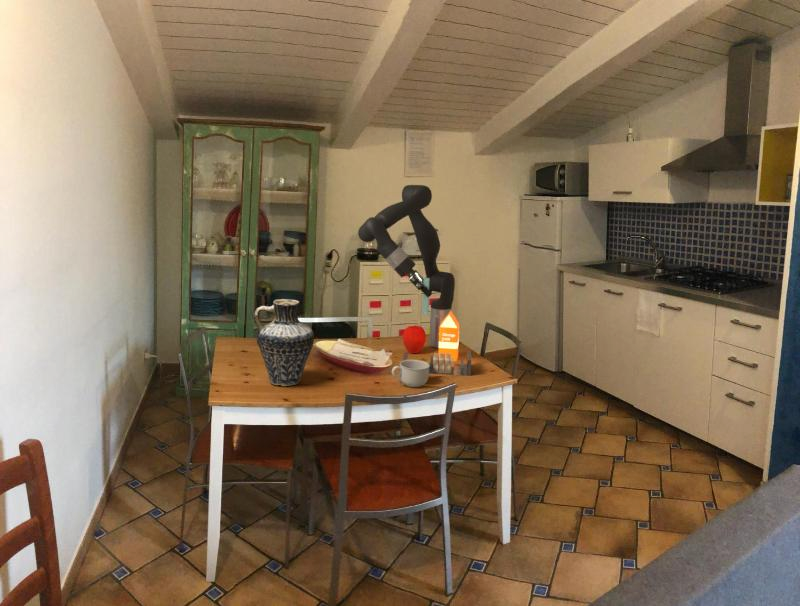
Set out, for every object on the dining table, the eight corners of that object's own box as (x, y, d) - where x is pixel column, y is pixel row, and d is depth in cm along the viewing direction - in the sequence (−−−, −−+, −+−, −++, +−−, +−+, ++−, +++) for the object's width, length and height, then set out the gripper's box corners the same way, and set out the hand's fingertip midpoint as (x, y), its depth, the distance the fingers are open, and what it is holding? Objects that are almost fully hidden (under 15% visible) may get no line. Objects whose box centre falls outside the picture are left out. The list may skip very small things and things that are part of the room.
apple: (417, 357, 278) (418, 328, 276) (397, 353, 284) (398, 325, 281) (429, 352, 286) (430, 324, 284) (410, 348, 292) (411, 321, 290)
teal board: (422, 314, 252) (423, 280, 250) (423, 311, 258) (424, 277, 256) (427, 314, 252) (428, 280, 250) (428, 311, 258) (429, 278, 255)
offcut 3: (444, 372, 253) (445, 360, 253) (445, 365, 263) (446, 353, 262) (450, 373, 253) (450, 360, 252) (450, 365, 263) (451, 353, 262)
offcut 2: (438, 372, 254) (439, 359, 253) (439, 365, 263) (440, 353, 262) (444, 372, 253) (444, 360, 252) (444, 365, 263) (445, 353, 262)
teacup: (424, 380, 247) (425, 359, 246) (432, 389, 237) (433, 367, 236) (387, 381, 244) (388, 360, 243) (393, 390, 234) (394, 368, 233)
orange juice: (458, 357, 279) (460, 310, 276) (456, 363, 271) (459, 315, 267) (439, 356, 280) (441, 309, 277) (437, 362, 272) (439, 313, 268)
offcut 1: (432, 372, 254) (433, 359, 253) (433, 365, 264) (434, 352, 263) (438, 372, 254) (438, 359, 253) (438, 365, 263) (439, 353, 263)
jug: (303, 372, 252) (303, 294, 246) (321, 387, 235) (322, 303, 229) (248, 379, 242) (247, 297, 237) (263, 395, 226) (262, 307, 220)
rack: (401, 374, 253) (401, 356, 252) (404, 364, 267) (404, 347, 265) (470, 378, 251) (471, 360, 250) (469, 367, 265) (470, 350, 263)
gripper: (406, 257, 245) (437, 290, 246) (409, 253, 259) (438, 284, 260) (391, 271, 246) (422, 304, 247) (395, 266, 260) (424, 297, 261)
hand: (430, 294), depth 254 cm, fingers closed on teal board, 6 cm apart
